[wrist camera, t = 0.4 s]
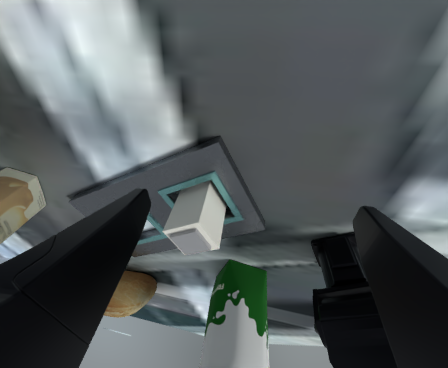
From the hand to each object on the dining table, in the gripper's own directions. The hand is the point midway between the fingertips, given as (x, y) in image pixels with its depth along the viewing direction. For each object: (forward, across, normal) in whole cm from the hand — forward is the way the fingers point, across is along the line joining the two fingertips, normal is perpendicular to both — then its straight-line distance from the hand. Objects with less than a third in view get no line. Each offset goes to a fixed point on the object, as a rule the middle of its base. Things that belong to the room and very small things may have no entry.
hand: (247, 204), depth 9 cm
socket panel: (+14, +11, +15) cm, 23 cm away
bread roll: (+14, +24, +36) cm, 45 cm away
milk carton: (+14, 0, +30) cm, 34 cm away
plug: (+14, +6, +12) cm, 19 cm away
